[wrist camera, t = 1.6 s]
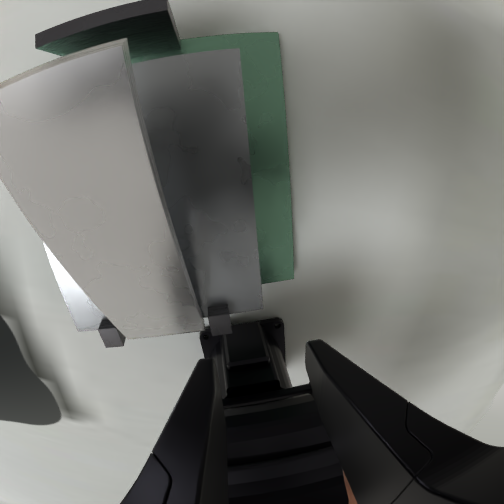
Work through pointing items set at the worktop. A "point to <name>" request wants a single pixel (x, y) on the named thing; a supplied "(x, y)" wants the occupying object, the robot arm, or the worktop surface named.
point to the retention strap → (97, 188)
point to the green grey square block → (202, 154)
